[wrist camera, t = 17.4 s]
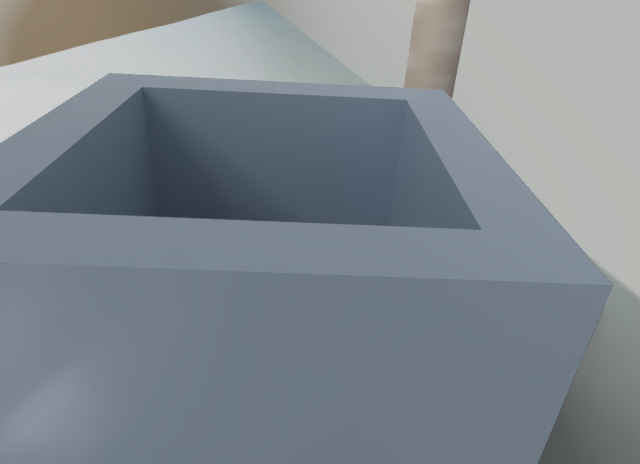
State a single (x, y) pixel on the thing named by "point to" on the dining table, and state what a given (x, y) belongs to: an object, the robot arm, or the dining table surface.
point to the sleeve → (279, 281)
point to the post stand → (436, 44)
